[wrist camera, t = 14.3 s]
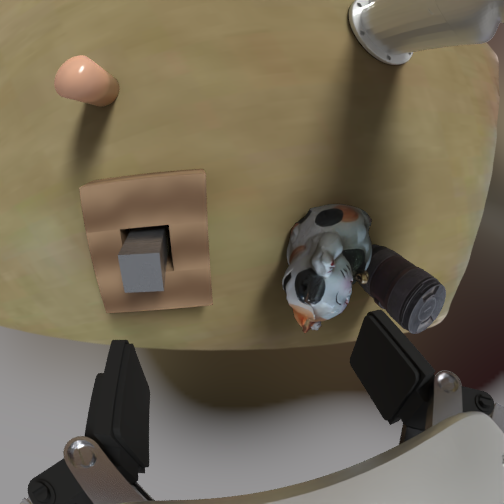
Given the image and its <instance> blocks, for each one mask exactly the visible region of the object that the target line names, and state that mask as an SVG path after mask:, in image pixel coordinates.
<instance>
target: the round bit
mask: <svg viewBox="0 0 504 504" xmlns="http://www.w3.org/2000/svg"><path fill="white" fill-rule="evenodd" d="M54 84H55V89H56V91H57V93H58V94H59V95H60V96H62V97H65V98H69V99H73V100H77V101H80V102H84V103H88V104H91V105H95V106H99V107H103V106H107V105H109V104H111V103H112V102H113V101H114V100H115V99H116V97H117V96H118V93H119V83H118V81H117V79H116V78H114V77H113V76H112V75H110V74H109V73H108V72H107V71H105V70H104V69H103V68H101V67H100V66H99V65H97V64H96V63H95V62H94V61H92V60H91V59H90V58H88V57H86V56H82V55H80V56H75V57H72V58H70V59H68V60H67V61H66V62H65V63H63V65H62V66H61V67H60V68H59V70H58V72H57V74H56V77H55V83H54Z"/></svg>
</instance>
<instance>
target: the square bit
mask: <svg viewBox="0 0 504 504" xmlns="http://www.w3.org/2000/svg"><path fill="white" fill-rule="evenodd" d="M167 257H168V239H167V225H159V226H149V227H138V228H132V229H131V231H130V233H129V235H128V236H127V238H126V240H125V242H124V244H123V246H122V248H121V250H120V252H119V254H118V260H119V266H120V271H121V277H122V282H123V287H124V291H125V293H132V292H154V291H164V285H165V275H166V266H167Z"/></svg>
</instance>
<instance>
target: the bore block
mask: <svg viewBox="0 0 504 504" xmlns="http://www.w3.org/2000/svg"><path fill="white" fill-rule="evenodd" d="M79 190H80V198H81V205H82V212H83V218H84V224H85V229H86V235H87V240H88V245H89V249H90V254H91V258H92V262H93V267H94V271H95V275H96V278H97V282H98V286H99V289H100V293H101V296H102V300H103V303H104V306H105V309H106V313H118V312H135V311H150V310H163V309H175V308H187V307H197V306H208V305H213V301H212V288H211V274H210V258H209V241H208V221H207V196H206V173H205V171H204V169H195V170H181V171H168V172H157V173H147V174H138V175H130V176H122V177H114V178H107V179H100V180H94V181H91V182H89V183H87V184H85V185H83V186H81V187H79ZM159 225H169V231H170V241H171V250H172V255H171V256H168V257H167V266H166V275H165V285H164V291H154V292H132V293H125V291H124V287H123V282H122V277H121V271H120V266H119V260H118V254H119V252H120V250H121V248H122V246H123V244H124V242H125V240H126V238H127V236H128V235H129V233H130V232H129V228H138V227H149V226H159Z"/></svg>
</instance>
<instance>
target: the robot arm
mask: <svg viewBox="0 0 504 504" xmlns="http://www.w3.org/2000/svg"><path fill="white" fill-rule="evenodd" d="M349 21H350V25H351V28H352V30H353V32H354V34H355V36H356V38H357V39H358V41H359V42H360V43H361V45H362V46H363V47H364V48H365V49H366V50H367V51H368V52H369V53H370V54H371V55H372V56H374V57H375V58H376V59H378V60H380V61H382V62H384V63H386V64H391V65H398V64H403V63H405V62H407V61H408V60H409V59H410V58H411V56H412V54H413V52H416V51H421V50H427V49H434V48H441V47H449V46H458V45H471V44H482V43H485V42H487V41H489V40H490V39H491V38H492V37H493V36H494V34H495V32H496V30H497V28H498V25H499V23H500V22H503V23H504V0H355V1H354V2H353V3H352V4H351V6H350V9H349ZM350 364H351V366H352V368H353V370H354V371H355V373H356V374H357V376H358V378H359V379H360V381H361V383H362V384H363V386H364V387H365V389H366V390H367V392H368V394H369V395H370V397H371V399H372V400H373V402H374V403H375V405H376V407H377V408H378V410H379V412H380V413H381V415H382V417H383V418H384V419H385V420H388V422H389V424H390V425H391V424H393V423H395V422H397V421H399V420H400V419H401V420H402V422H403V427H402V432H401V436H400V442H399V445H398V446H396V447H394V448H392V449H390V450H388V451H386V452H384V453H382V454H379V455H377V456H375V457H373V458H370V459H368V460H366V461H364V462H361V463H359V464H356V465H354V466H351V467H349V468H346V469H343V470H341V471H338V472H335V473H332V474H329V475H326V476H323V477H320V478H317V479H314V480H310V481H307V482H303V483H299V484H295V485H292V486H287V487H283V488H279V489H274V490H269V491H264V492H259V493H253V494H247V495H240V496H232V497H223V498H212V499H199V500H169V501H155V500H154V499H153V498H152V497H151V496H150V495H149V494H148V493H147V492H146V491H145V490H144V489H143V488H142V487H141V486H140V485H139V484H138V483H137V481H138V473H145V467H149V404H150V390H149V386H148V383H147V381H146V378H145V376H144V373H143V370H142V368H141V365H140V362H139V360H138V357H137V354H136V351H135V348H134V345H133V344H129V342H128V341H127V340H113V341H112V342H111V346H110V350H109V354H108V358H107V362H106V367H105V371H104V373H99V374H98V375H97V376H96V379H95V383H94V388H93V392H92V397H91V402H90V407H89V412H88V419H87V424H86V430H85V437H84V436H78V437H75V438H72V439H71V440H69V441H68V442H67V444H66V445H65V448H64V451H63V454H64V459H62V460H61V461H59V462H58V463H56V464H55V465H53V466H52V467H50V468H49V469H47V470H46V471H44V472H43V473H41V474H39V475H38V476H36V477H35V478H33V479H32V480H31V481H30V483H29V485H28V494H29V497H28V498H27V499H26V498H24V499H23V500H22V502H21V503H20V504H504V407H503V406H501V405H499V404H498V403H495V405H494V401H493V399H492V397H491V396H490V395H489V394H488V393H486V392H484V391H479V390H475V389H471V388H467V387H462V386H461V382H460V380H459V378H458V377H457V376H456V375H455V374H454V373H452V372H449V371H441V372H439V373H437V374H436V376H435V375H434V372H435V370H434V369H433V368H432V367H431V365H430V364H429V363H428V362H427V360H426V359H425V358H424V357H423V356H422V355H421V353H420V352H419V351H418V350H417V349H416V348H415V346H414V345H413V344H412V343H411V342H410V341H409V340H408V338H407V337H406V336H405V335H404V334H403V333H402V332H401V331H400V329H399V328H398V327H397V326H396V325H395V324H394V323H393V322H392V321H391V319H390V318H389V317H388V316H387V315H386V314H385V313H384V312H383V311H382V310H376V311H372V312H369V313H368V314H367V316H365V318H364V320H363V323H362V326H361V329H360V332H359V335H358V338H357V341H356V344H355V347H354V349H353V352H352V355H351V357H350Z"/></svg>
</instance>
